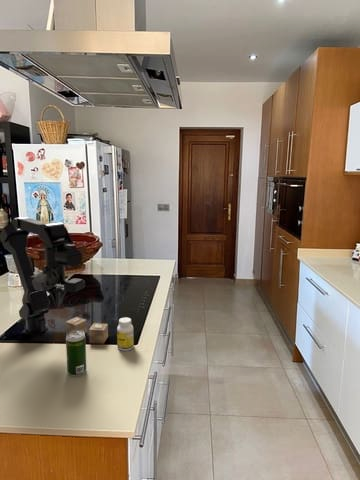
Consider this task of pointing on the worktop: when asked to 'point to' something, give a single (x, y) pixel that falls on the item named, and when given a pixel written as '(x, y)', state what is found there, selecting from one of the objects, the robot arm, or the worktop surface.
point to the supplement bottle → (125, 334)
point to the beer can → (76, 353)
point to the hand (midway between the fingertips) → (57, 307)
